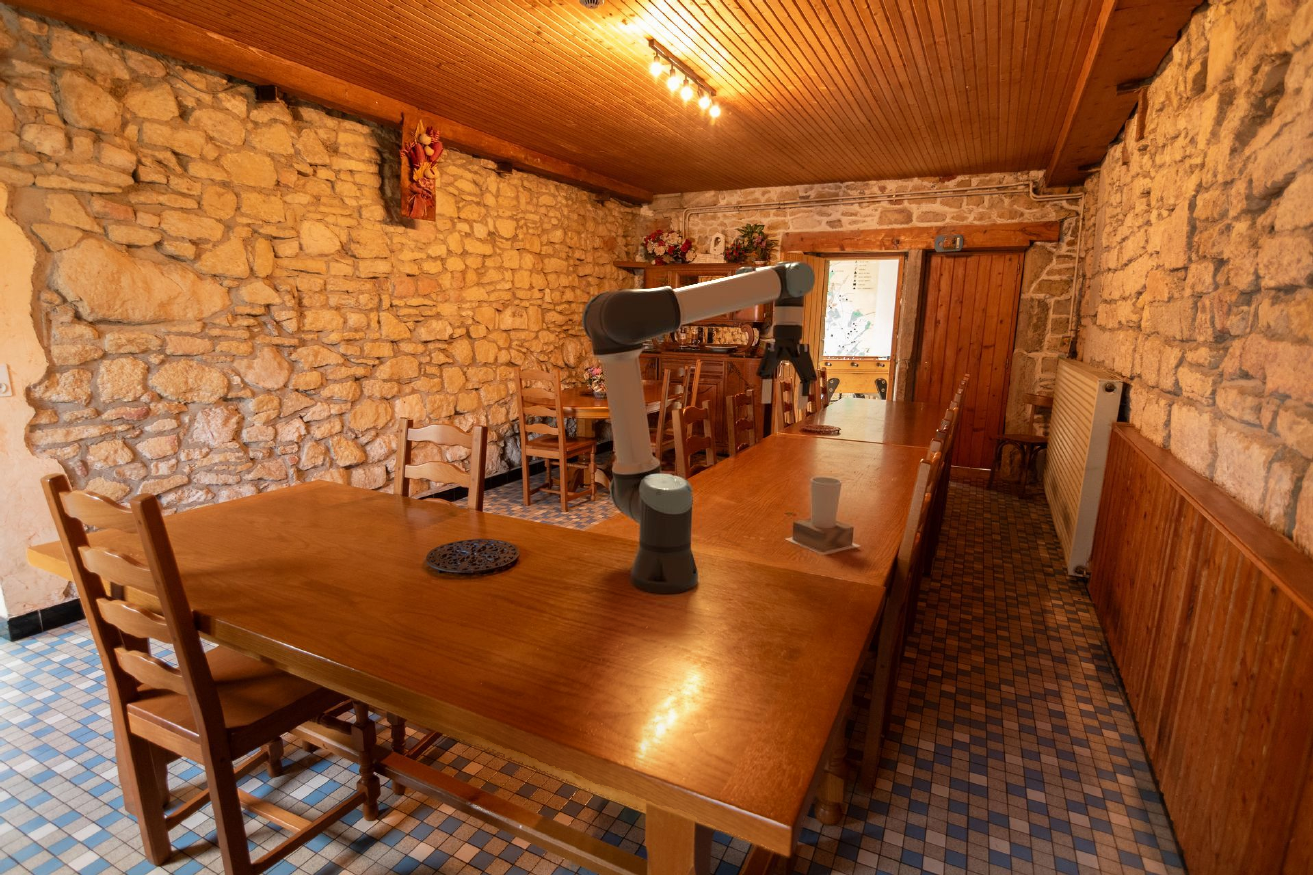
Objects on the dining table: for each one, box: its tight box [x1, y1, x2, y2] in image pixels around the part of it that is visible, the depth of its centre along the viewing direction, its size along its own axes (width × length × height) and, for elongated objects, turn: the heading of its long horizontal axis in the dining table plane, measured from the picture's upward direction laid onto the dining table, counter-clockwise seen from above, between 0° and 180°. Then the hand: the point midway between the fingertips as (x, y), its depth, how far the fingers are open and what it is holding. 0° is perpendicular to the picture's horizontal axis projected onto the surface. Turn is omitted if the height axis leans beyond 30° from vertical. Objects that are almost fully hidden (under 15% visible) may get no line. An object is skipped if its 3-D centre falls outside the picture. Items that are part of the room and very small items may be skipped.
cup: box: [810, 476, 843, 528], centre depth 163 cm, size 8×8×12 cm
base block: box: [792, 517, 854, 552], centre depth 164 cm, size 11×11×5 cm
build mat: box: [785, 536, 861, 556], centre depth 165 cm, size 14×14×1 cm
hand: (783, 406), depth 162 cm, fingers open, 13 cm apart
